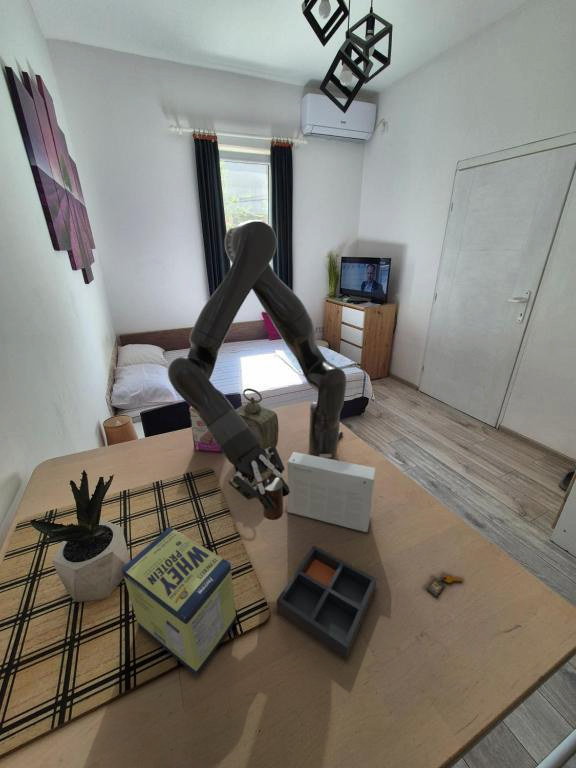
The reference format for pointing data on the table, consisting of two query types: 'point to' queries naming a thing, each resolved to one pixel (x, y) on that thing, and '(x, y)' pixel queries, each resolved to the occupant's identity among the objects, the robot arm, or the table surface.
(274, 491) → the brown cylinder
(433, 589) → the key tag
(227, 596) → the protein box
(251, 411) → the tabletop clock
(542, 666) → the table surface
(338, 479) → the skincare box
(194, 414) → the candy bar box
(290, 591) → the grid
